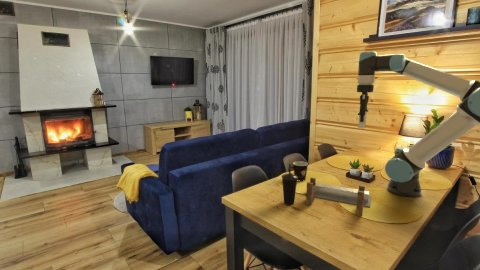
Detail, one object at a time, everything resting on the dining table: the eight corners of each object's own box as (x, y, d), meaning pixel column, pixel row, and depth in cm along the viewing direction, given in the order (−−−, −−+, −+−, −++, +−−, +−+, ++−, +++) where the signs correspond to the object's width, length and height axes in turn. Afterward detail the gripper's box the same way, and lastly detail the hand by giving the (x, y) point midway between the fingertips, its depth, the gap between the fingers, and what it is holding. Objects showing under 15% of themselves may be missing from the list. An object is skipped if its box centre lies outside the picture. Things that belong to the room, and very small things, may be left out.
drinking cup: (287, 208, 121) (288, 167, 117) (278, 201, 128) (278, 162, 124) (300, 204, 125) (301, 164, 121) (290, 198, 131) (291, 160, 127)
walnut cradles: (363, 208, 120) (365, 185, 118) (361, 216, 113) (363, 192, 111) (310, 197, 131) (310, 177, 129) (306, 204, 124) (306, 183, 122)
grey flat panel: (371, 197, 131) (371, 196, 131) (370, 207, 120) (370, 206, 120) (311, 187, 145) (311, 186, 145) (305, 195, 134) (305, 194, 134)
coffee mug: (306, 176, 160) (306, 161, 158) (308, 182, 152) (309, 165, 149) (287, 176, 161) (287, 161, 159) (288, 181, 153) (288, 165, 151)
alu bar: (368, 199, 128) (369, 191, 127) (368, 202, 124) (368, 194, 123) (311, 188, 141) (311, 182, 140) (309, 191, 137) (309, 184, 136)
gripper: (359, 83, 142) (356, 122, 146) (355, 84, 120) (351, 129, 125) (374, 83, 138) (371, 122, 143) (373, 84, 117) (369, 130, 121)
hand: (362, 126), depth 134 cm, fingers open, 13 cm apart
